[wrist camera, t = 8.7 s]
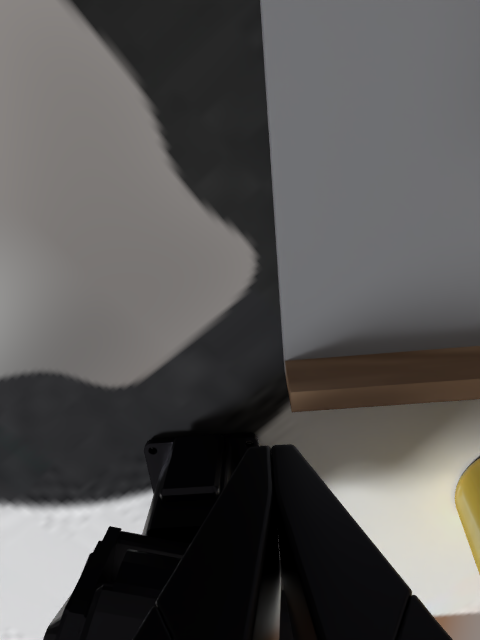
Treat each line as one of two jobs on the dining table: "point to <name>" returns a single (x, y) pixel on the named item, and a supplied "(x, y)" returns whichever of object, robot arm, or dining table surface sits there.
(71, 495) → the dining table surface
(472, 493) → the plant pot
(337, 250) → the bay
